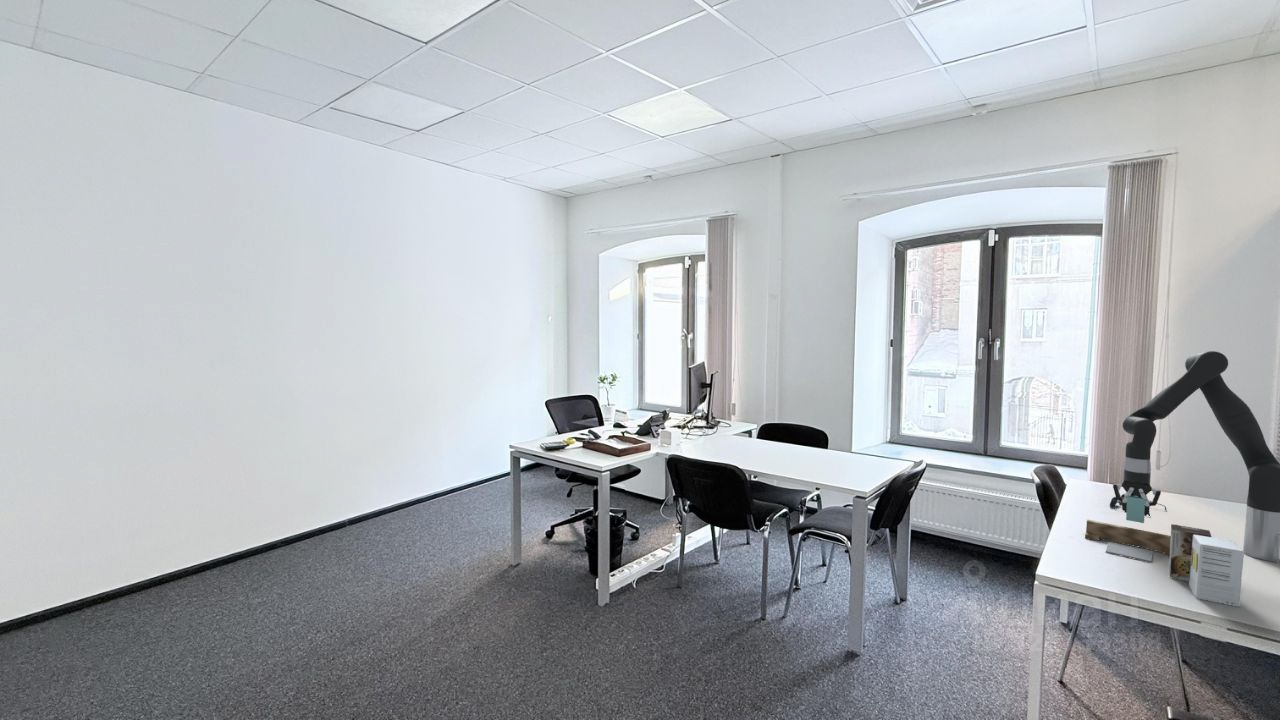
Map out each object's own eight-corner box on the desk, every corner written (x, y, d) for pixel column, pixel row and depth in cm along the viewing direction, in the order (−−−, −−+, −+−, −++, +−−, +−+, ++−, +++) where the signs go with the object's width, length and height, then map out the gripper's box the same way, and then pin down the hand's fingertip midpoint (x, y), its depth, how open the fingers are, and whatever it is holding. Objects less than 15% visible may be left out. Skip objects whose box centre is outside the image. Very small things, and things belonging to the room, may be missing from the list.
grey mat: (1152, 552, 197) (1152, 551, 197) (1151, 562, 189) (1151, 561, 189) (1108, 543, 206) (1108, 541, 206) (1105, 552, 197) (1105, 550, 197)
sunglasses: (1125, 502, 255) (1127, 492, 254) (1166, 516, 242) (1168, 505, 241) (1107, 508, 247) (1110, 497, 246) (1149, 522, 234) (1152, 511, 233)
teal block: (1144, 519, 210) (1145, 496, 209) (1143, 523, 206) (1144, 499, 206) (1126, 516, 213) (1127, 493, 213) (1126, 520, 210) (1127, 496, 209)
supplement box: (1188, 586, 172) (1191, 533, 171) (1230, 594, 166) (1234, 540, 165) (1195, 598, 164) (1199, 543, 163) (1240, 608, 159) (1245, 550, 158)
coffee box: (1207, 579, 177) (1210, 530, 176) (1209, 586, 172) (1212, 535, 171) (1167, 570, 183) (1171, 523, 182) (1168, 577, 178) (1172, 528, 177)
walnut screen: (1180, 551, 198) (1181, 535, 198) (1180, 558, 192) (1181, 541, 192) (1087, 532, 216) (1088, 517, 216) (1084, 538, 211) (1085, 522, 210)
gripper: (1163, 471, 206) (1161, 515, 207) (1113, 464, 216) (1111, 507, 217) (1163, 474, 201) (1161, 520, 202) (1111, 468, 211) (1109, 511, 212)
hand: (1135, 513), depth 210 cm, fingers closed on teal block, 5 cm apart
